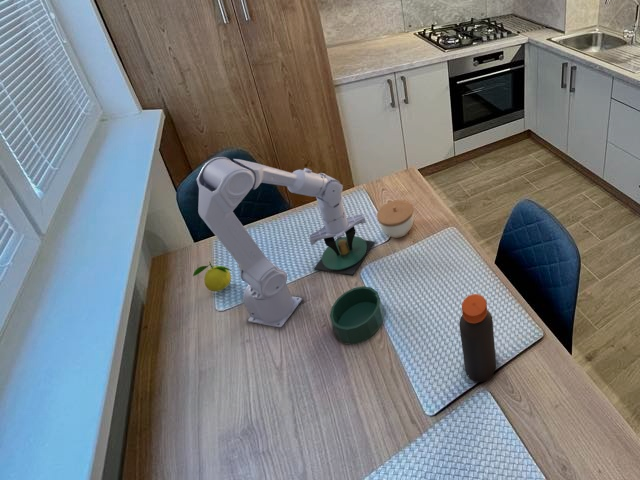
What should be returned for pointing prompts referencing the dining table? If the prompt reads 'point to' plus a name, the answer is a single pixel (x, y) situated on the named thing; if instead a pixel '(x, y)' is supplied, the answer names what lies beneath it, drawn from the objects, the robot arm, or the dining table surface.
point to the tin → (357, 315)
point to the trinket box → (396, 218)
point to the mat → (346, 271)
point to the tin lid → (344, 254)
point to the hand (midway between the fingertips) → (344, 250)
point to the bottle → (477, 339)
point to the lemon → (215, 277)
